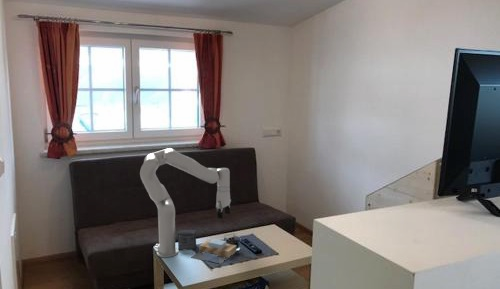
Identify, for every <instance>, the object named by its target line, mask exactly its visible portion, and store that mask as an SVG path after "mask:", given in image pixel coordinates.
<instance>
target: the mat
mask: <svg viewBox="0 0 500 289" xmlns="http://www.w3.org/2000/svg"><path fill="white" fill-rule="evenodd" d="M217 257H218V258H219V257H220V258H219V264H218V265H222V264H224V263H225V261H224V260H226V261H227V260H228V259H229V258H228V257H225V258H224V257H223V256H217ZM190 258H191V259H195V260H200V261H204V260H205V258H204V255H203V253H202V252H200V251H199V250H198V251H197V252H196V253H195V254H193V255H192V256H191V257H190Z"/></svg>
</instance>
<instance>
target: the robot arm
mask: <svg viewBox="0 0 500 289" xmlns="http://www.w3.org/2000/svg"><path fill="white" fill-rule="evenodd" d="M166 164H167V165H170V166H172V167H174V168H177V169H178V170H181V171H184V172H185V173H187V174H190V175H192V176H194V177H195V178H197V179H199V180H201V181H204V182H206V183H208V184H215V183H216V186H217V188H216V189H217V191H216V199H215V200H216V202H215V203H216V204H215V208H216V212H217V219H223V215H224V214H227V215H230V214H231V203H232V199H231V192H230V191H231V188H230V187H231V186H230V184H231V182H230V181H231V180H230V178H231V177H230V174H231V173H230V169H229V168H228V167H219V168H218V167H217V168H216V167H206V166H204V165H202V164H200V163H199V162H198V161H196V160H195V159H194V158H192V157H189V156H187V155H185V154H183V153H180V152H179V151H176V149H174V148H171V147H169V148H165V149H162V150H158V151H155V152H152V153H149V154H148V155H146V156H145V157H144V159H143V163H142V165H141V167H140V171H139V176H140V180H141V182H142V184H143V186H144V188H145V190H146V192H147V193H148V195H149V197H150V199H151V200H152V201H153V202H154V204H155V205H156V208H157V218H158V219H157V220H158V222H157V223H158V243H156V244H155V245H154V249H156V250H157V251H156V256H158V257H159V258H171V257H175V256H176V255H177V254H178V253H179V250H178V248H176V220H175V219H176V207H175V205H174V202H173V200H172V198H171V197H170V196H171V195H170V194H169V193H168V191H167V189H166V187H165V185H164V184H162V183H161V182H160V180H159V178H158V176H157V174H156V173H157V172H156V171H157V170H158V168H159V167H160V166H163V165H166ZM223 209H224V210H223ZM223 211H224V212H223ZM223 213H224V214H223Z"/></svg>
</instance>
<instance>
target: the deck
mask: <svg viewBox="0 0 500 289" xmlns="http://www.w3.org/2000/svg"><path fill="white" fill-rule="evenodd" d="M211 240H212V239H211ZM211 240H210V239H207V240H205V241H204V242H203V243H200V244H199V246H198V252H199V251H200V252H205V253H210V254H215V255H218V256H223V257H228V259H229V258H231V257H232V256H233V255H234V254H236V253H237V245H236V244H230V243H227V242H226V246H225V247H224V248H222V249H219V248H214V247H209V246H208V242H210V241H211ZM235 252H236V253H235ZM231 255H232V256H231ZM230 256H231V257H230Z"/></svg>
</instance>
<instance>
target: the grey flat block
mask: <svg viewBox="0 0 500 289" xmlns="http://www.w3.org/2000/svg"><path fill="white" fill-rule="evenodd" d="M226 243H227V241H226V240H222V239H217V238H212V239H211V241H210V242H208V246H209V247H214V248H219V249H222V248H224V247H225V246H226Z"/></svg>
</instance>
